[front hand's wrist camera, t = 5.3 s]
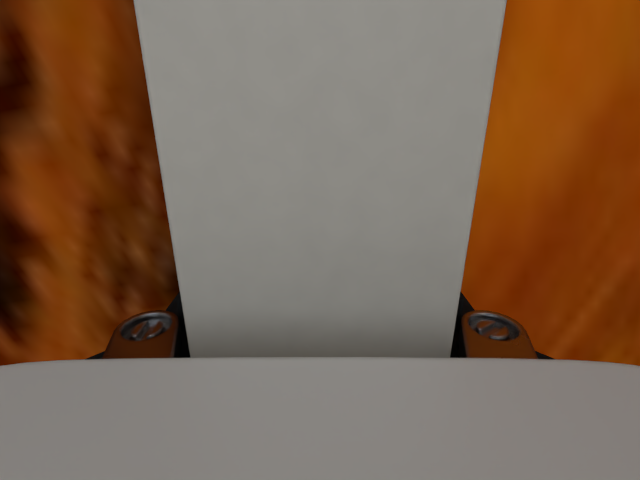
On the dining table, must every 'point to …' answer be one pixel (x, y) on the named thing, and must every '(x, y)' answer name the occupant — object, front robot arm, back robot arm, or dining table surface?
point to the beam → (320, 167)
